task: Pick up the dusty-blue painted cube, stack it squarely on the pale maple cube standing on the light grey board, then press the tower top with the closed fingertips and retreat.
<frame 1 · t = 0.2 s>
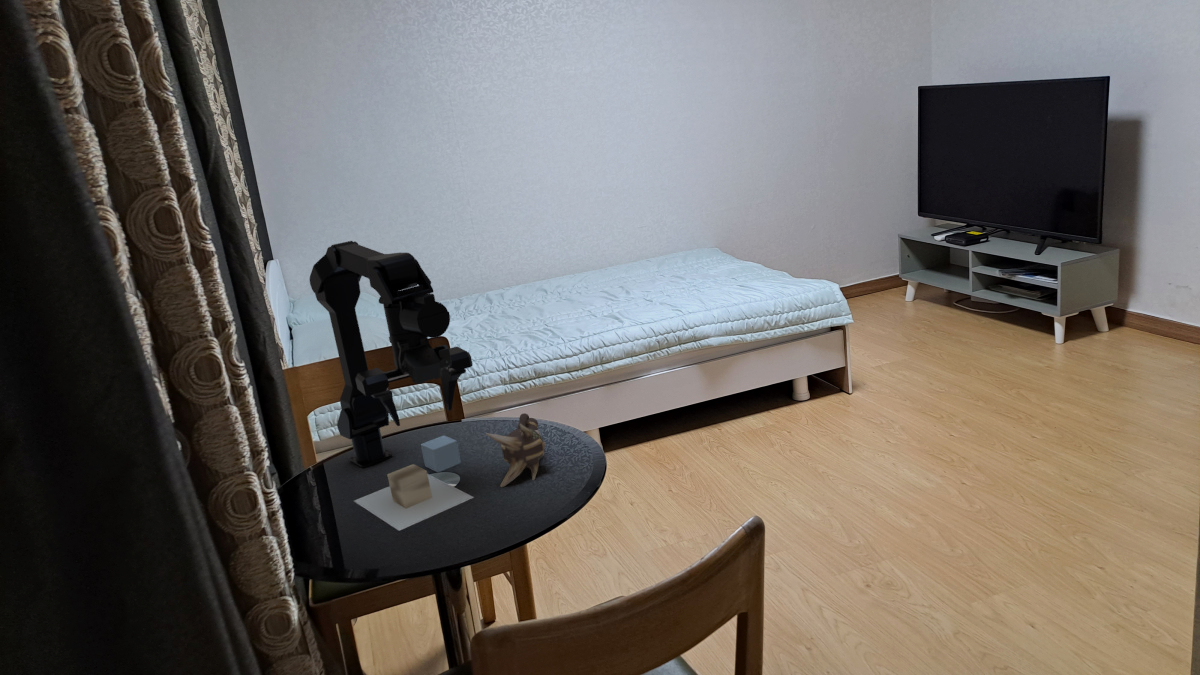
hand: (424, 417, 143), 14 cm above the table, fingers open, 9 cm apart
board: (413, 501, 145), on the table
maple block: (412, 499, 145), resting on board
toy: (529, 470, 151), on the table
blue block: (443, 467, 158), on the table
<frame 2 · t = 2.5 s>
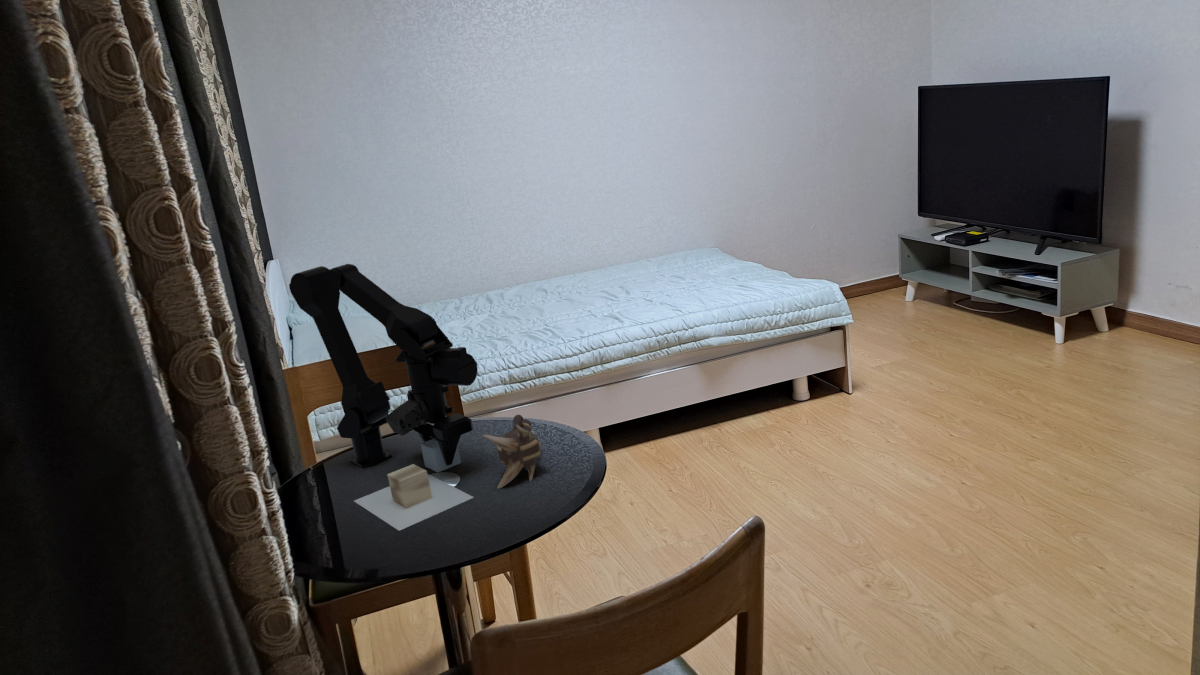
hand: (442, 461, 158), 1 cm above the table, fingers closed on blue block, 5 cm apart
blue block: (443, 466, 158), on the table, touching gripper
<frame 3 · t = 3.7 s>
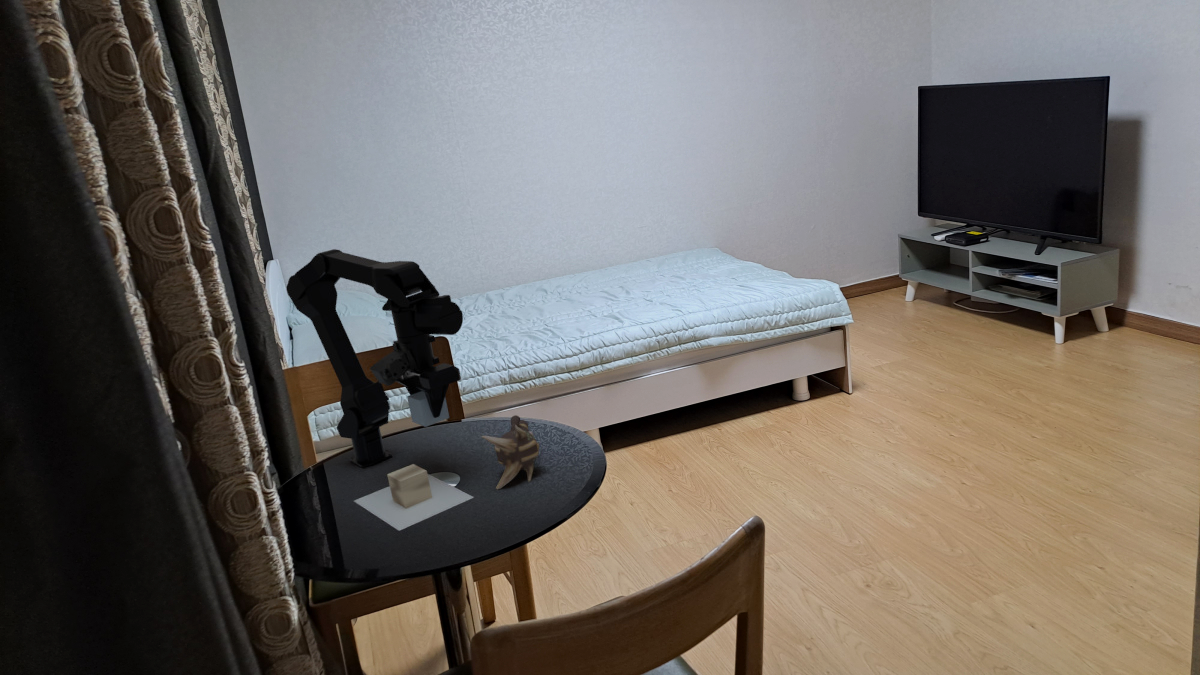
hand: (429, 414, 154), 11 cm above the table, fingers closed on blue block, 5 cm apart
blue block: (430, 419, 154), point 10 cm above the table, touching gripper
when the fingers open (8 cm above the table, at t = 5.4 s): blue block drops 1 cm, resting on maple block.
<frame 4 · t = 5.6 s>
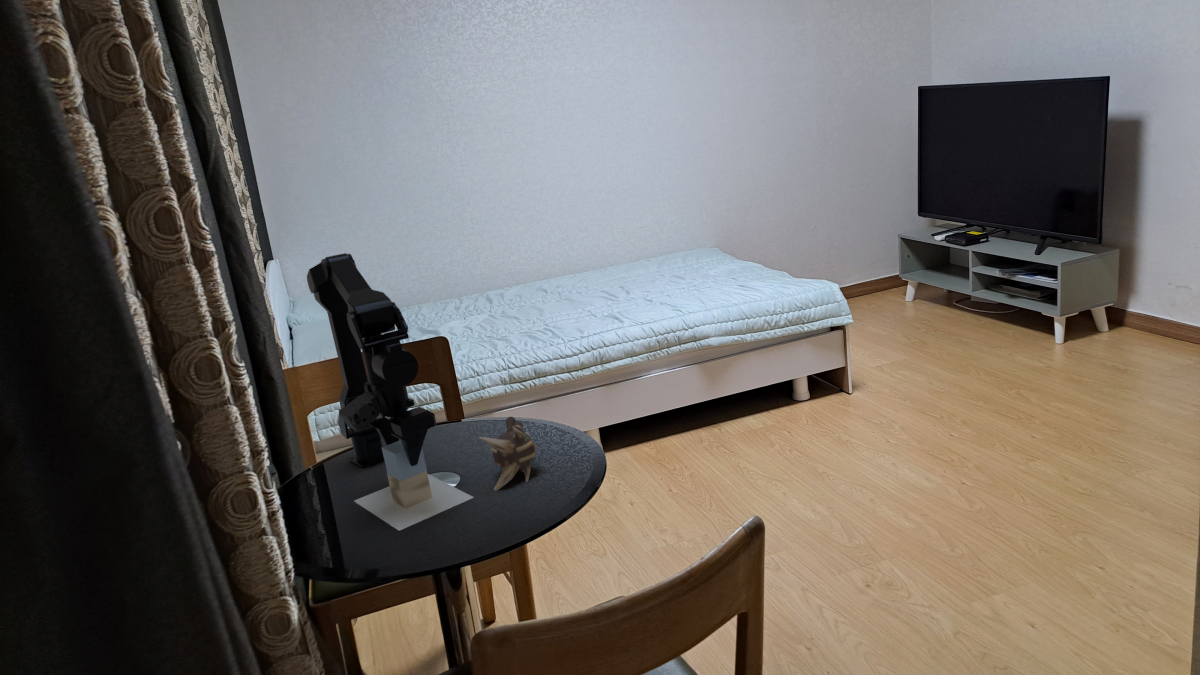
hand: (404, 460, 143), 8 cm above the table, fingers open, 7 cm apart
maple block: (412, 499, 145), resting on board, touching blue block
blue block: (407, 472, 143), point 5 cm above the table, touching maple block
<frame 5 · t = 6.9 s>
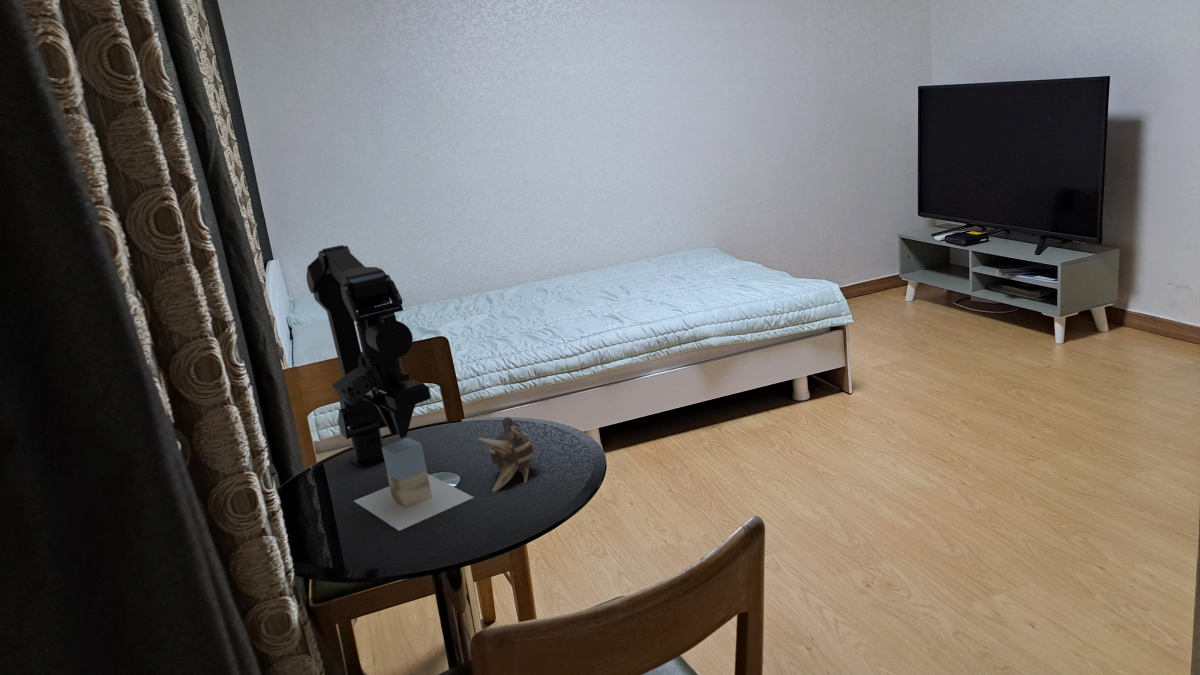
hand: (398, 435, 142), 12 cm above the table, fingers open, 3 cm apart
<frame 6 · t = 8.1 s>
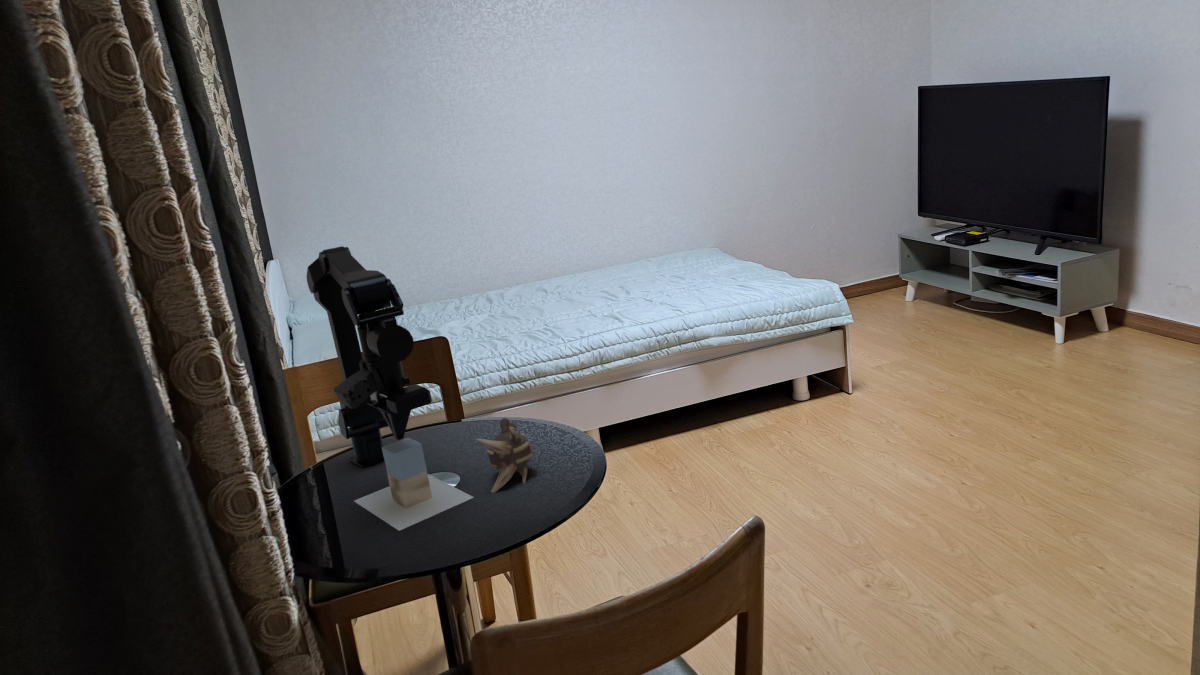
hand: (399, 439, 142), 12 cm above the table, fingers closed
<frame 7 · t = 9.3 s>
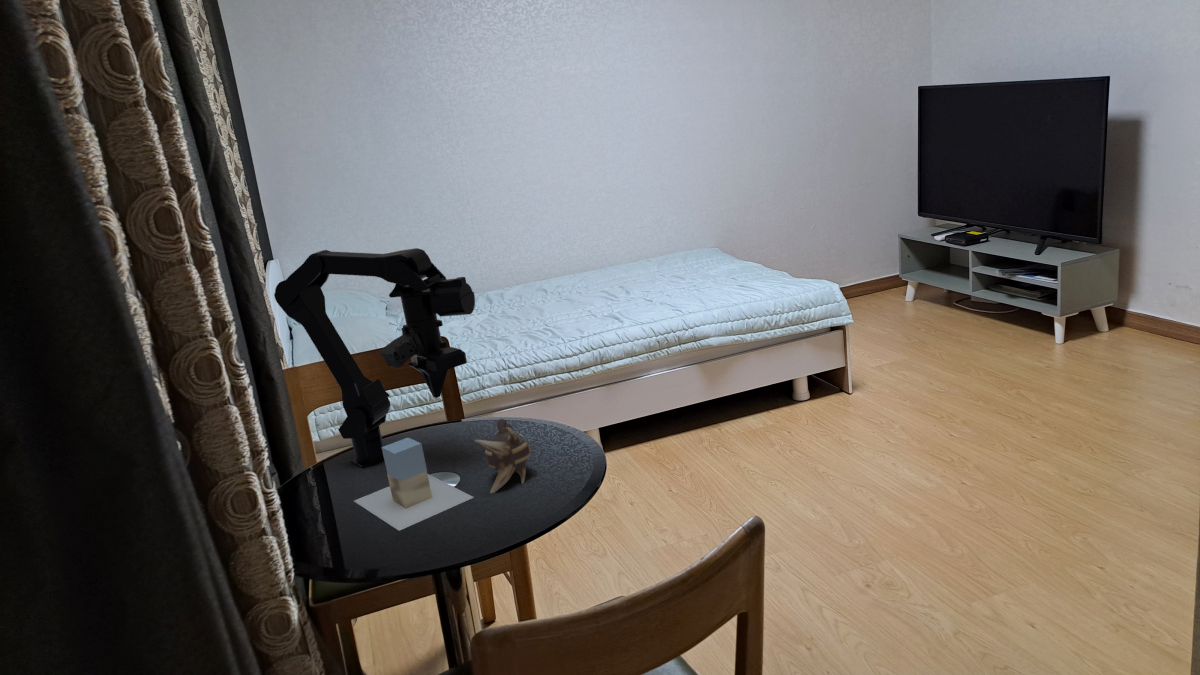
hand: (436, 397, 159), 12 cm above the table, fingers closed
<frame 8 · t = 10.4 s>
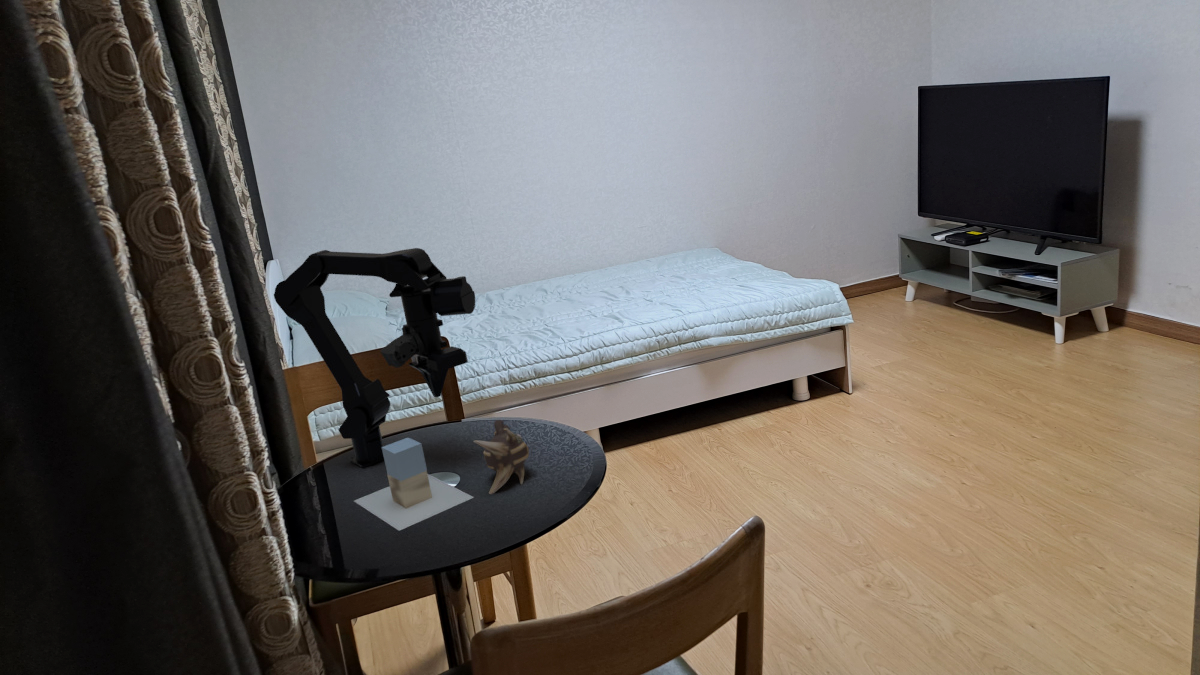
hand: (437, 396, 159), 13 cm above the table, fingers closed
at the end: blue block 0.1 cm off-centre on the maple block, point 5.0 cm above the maple block's base; blue block tilted 0°; maple block moved 0.0 cm from its start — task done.
